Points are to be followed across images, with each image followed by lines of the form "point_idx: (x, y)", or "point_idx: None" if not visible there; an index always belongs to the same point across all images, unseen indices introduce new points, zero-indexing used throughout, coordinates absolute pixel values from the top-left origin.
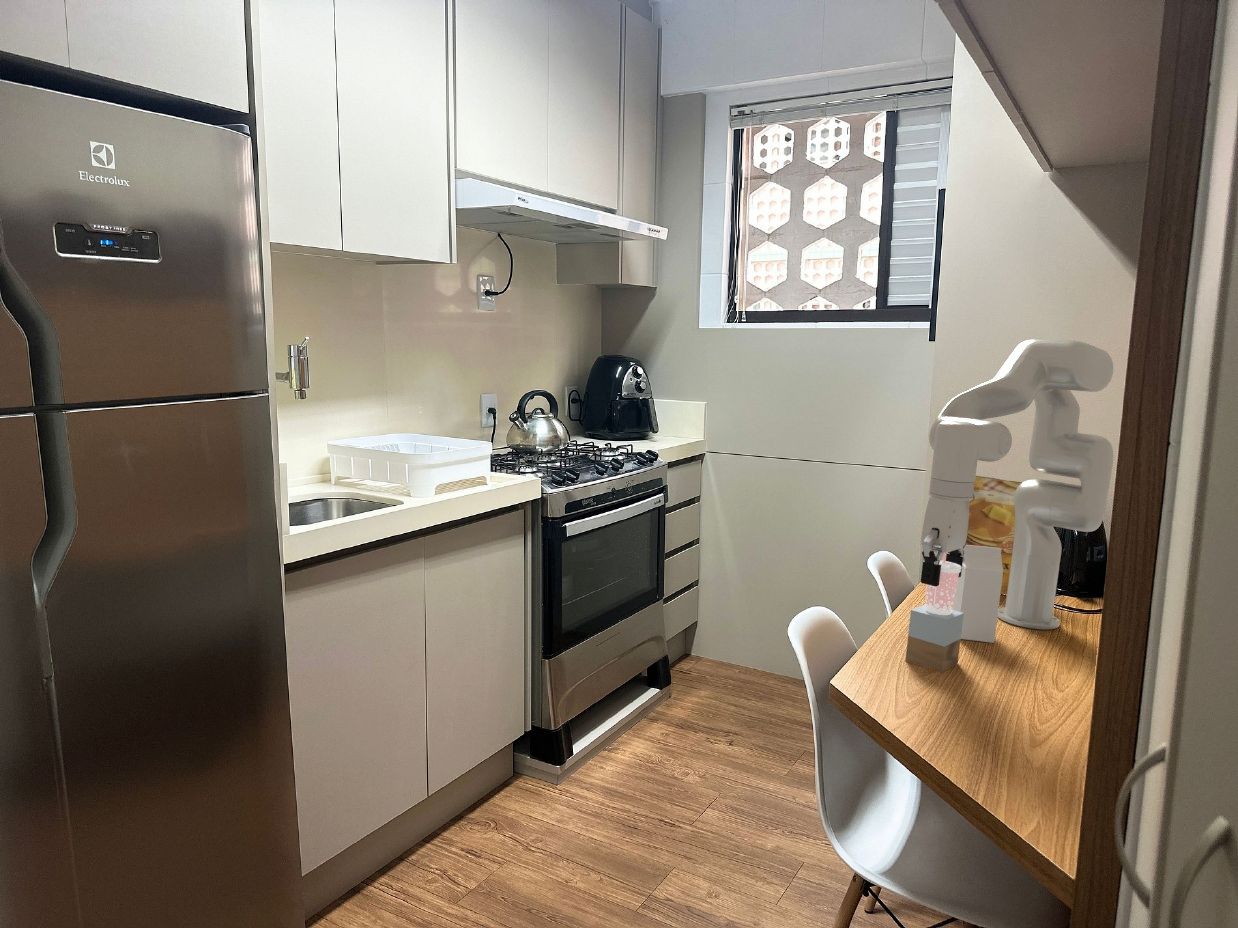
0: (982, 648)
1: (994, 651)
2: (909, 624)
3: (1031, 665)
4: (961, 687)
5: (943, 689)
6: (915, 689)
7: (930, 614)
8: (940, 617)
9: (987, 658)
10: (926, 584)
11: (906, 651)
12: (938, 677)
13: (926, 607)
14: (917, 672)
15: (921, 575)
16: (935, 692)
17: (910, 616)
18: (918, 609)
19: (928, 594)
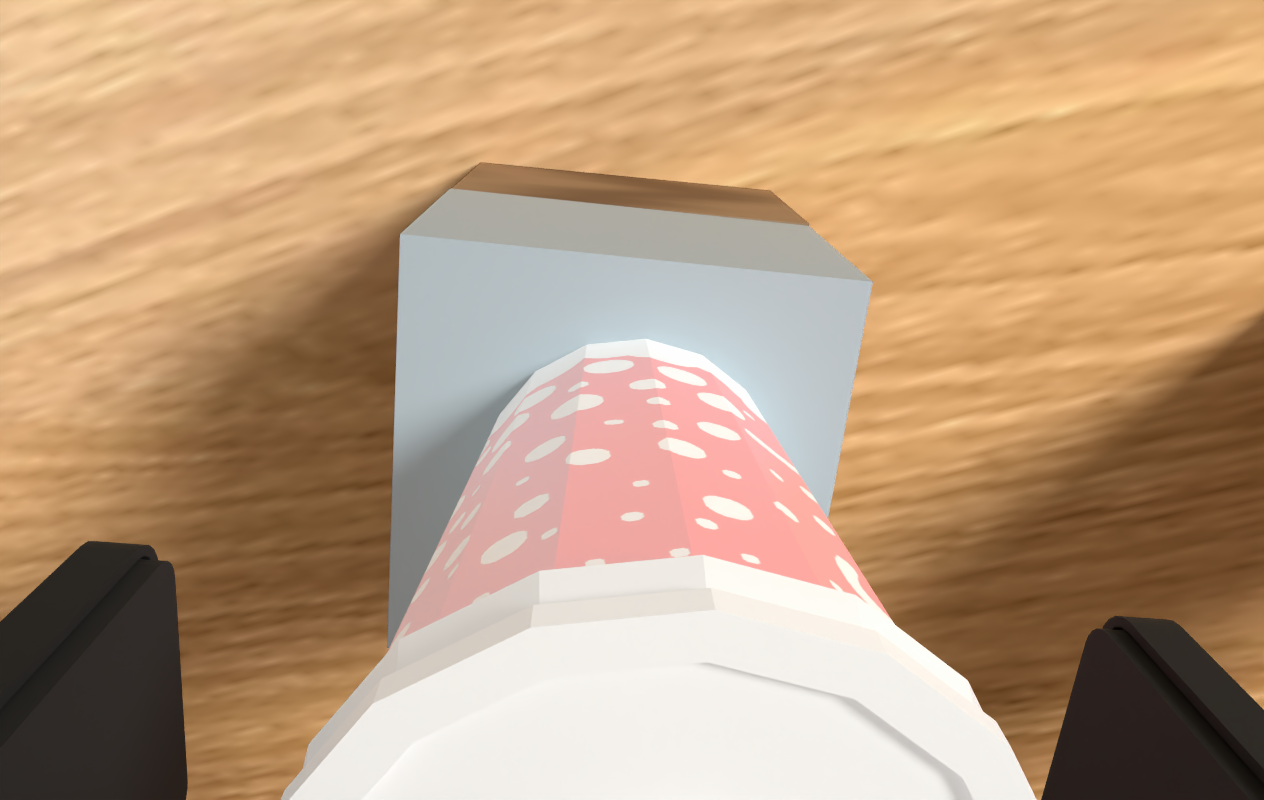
0: (1186, 488)
1: (1174, 561)
2: (431, 206)
3: (1045, 778)
4: (310, 598)
5: (178, 533)
6: (11, 411)
7: (422, 460)
8: (411, 568)
9: (987, 567)
10: (554, 454)
11: (472, 171)
12: (354, 448)
13: (526, 389)
14: (320, 315)
15: (21, 605)
16: (84, 515)
17: (417, 221)
18: (495, 295)
19: (480, 473)
